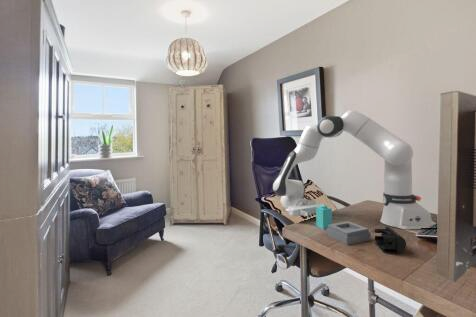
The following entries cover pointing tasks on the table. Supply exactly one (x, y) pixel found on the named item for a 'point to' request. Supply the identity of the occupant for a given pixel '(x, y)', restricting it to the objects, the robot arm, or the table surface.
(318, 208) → the teal brick
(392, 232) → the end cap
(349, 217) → the table surface
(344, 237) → the base plate
